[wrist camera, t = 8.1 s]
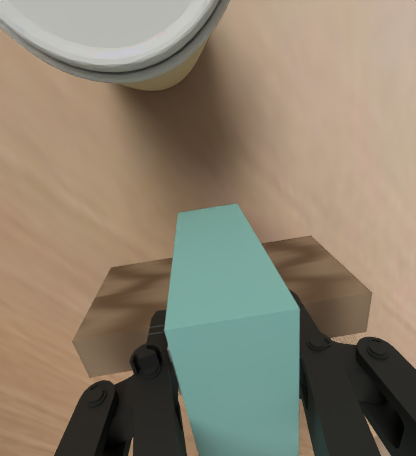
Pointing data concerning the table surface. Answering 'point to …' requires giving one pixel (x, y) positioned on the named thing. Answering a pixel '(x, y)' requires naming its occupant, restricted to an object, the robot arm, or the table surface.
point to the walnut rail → (159, 289)
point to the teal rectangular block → (233, 337)
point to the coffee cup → (115, 37)
